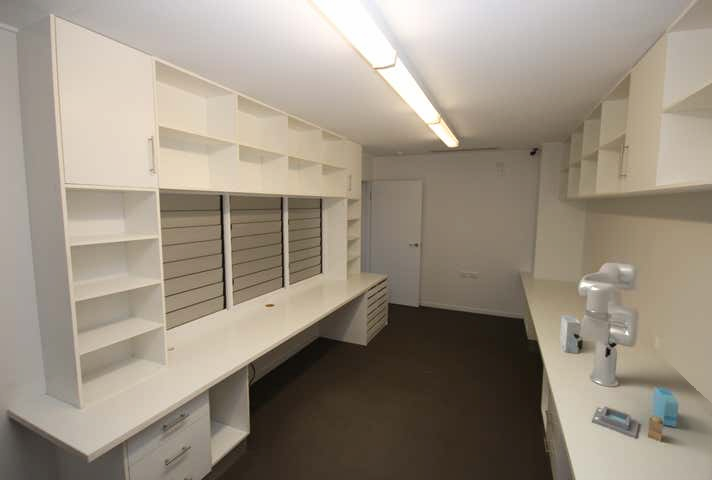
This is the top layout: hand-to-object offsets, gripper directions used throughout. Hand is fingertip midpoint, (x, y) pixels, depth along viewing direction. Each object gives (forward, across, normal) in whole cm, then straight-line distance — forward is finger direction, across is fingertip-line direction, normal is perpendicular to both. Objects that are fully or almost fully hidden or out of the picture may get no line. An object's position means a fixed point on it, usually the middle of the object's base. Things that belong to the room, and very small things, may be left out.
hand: (593, 352), depth 149 cm
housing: (+31, -9, -6) cm, 33 cm away
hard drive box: (+31, +25, -79) cm, 88 cm away
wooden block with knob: (+31, -22, -6) cm, 39 cm away
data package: (+31, -24, -24) cm, 46 cm away
